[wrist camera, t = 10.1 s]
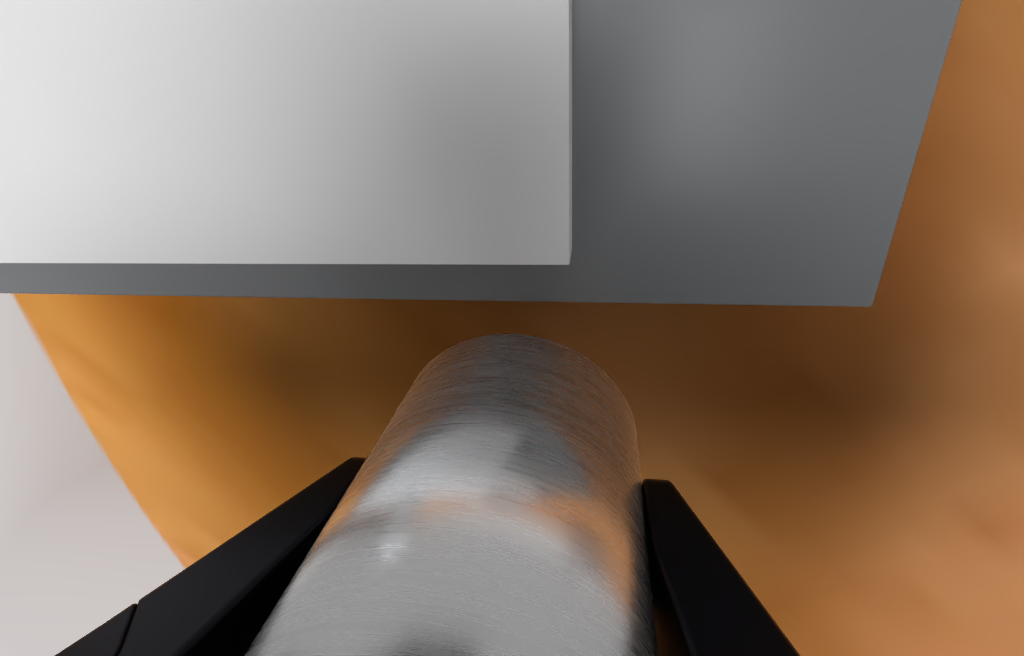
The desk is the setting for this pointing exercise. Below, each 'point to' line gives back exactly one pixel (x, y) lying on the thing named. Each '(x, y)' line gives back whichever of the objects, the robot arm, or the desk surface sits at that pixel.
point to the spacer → (485, 520)
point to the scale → (462, 147)
